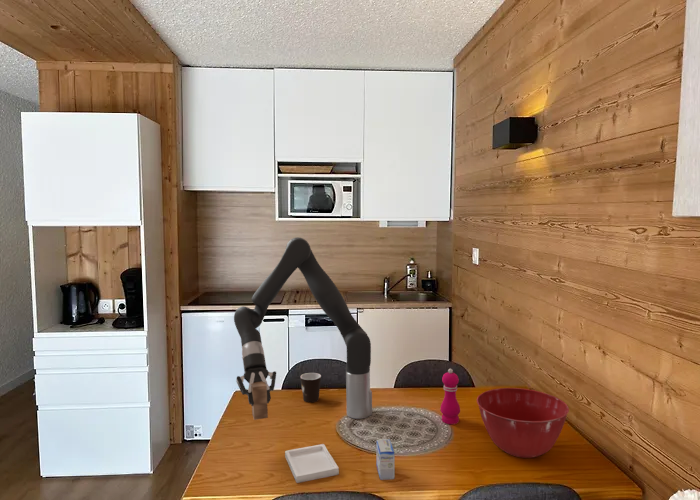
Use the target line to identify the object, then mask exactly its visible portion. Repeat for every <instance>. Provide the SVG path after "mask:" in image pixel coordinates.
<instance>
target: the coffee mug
mask: <svg viewBox="0 0 700 500" xmlns="http://www.w3.org/2000/svg"><path fill="white" fill-rule="evenodd" d="M321 377H322V375H321V374H320V373H316V372H307V373H303V374H301V375H300V384H301V391H302V398H303V401H304V402H305V403H316V402H319V399H320V391H321Z"/></svg>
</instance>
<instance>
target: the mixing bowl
mask: <svg viewBox="0 0 700 500" xmlns="http://www.w3.org/2000/svg"><path fill="white" fill-rule="evenodd" d="M476 404H477V405H478V409H479V412H480V416H481V419H482V422H483V425H484V426H485V429H486V431H487V434H488V435H489V437H490V438H491V441H492V442H493V444H494V445H496V446H497V447H498V448H500V450H502V451H504V453H507V454H508V455H511V456H514V457H517V458H523V459H525V458H526V459H528V458H529V459H531V458H532V459H533V458H537V457H541V455H542V456H543V455H545V454H546V453H547V452H549V451H550V450H552V448H553V447H554V446H555V444H556V441H557V440H558V438H559V436H560V435H561V432H562V430H563V427H564V425H565V422H566V420H567V415H568V414H569V412H570V407H569V406H568V404H567V403H566V402H565V401H564V400H561V399H560V398H558V397H556V396H554V395H552V394H548V393H546V392H542V391H538V390H533V389H528V388H519V387H518V388H517V387H504V388H503V387H502V388H494V389H489V390H486V391H484V392H482V393H480V394H479V395H477V398H476Z"/></svg>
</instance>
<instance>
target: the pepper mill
mask: <svg viewBox="0 0 700 500" xmlns="http://www.w3.org/2000/svg"><path fill="white" fill-rule="evenodd" d="M453 371H454V370H453V369H452V368H449V369H448V370H447V372H445V373H443V375H442V378H441V380H442V381H441V382H442V383H443V391H444V397H443V400H442V402H441V403H440V412H441V421H442V422H443V423H444V424H447V425H456V424H458V423H459V422H460V418H459V417H460V416H459V415H460V414H461V407H460V404H459V401H458V399H457V391H458V384H459V382H460V381H459V380H460V379H459V376H458V375H457V374H456V373H455V372H453Z"/></svg>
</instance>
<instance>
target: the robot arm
mask: <svg viewBox="0 0 700 500" xmlns="http://www.w3.org/2000/svg"><path fill="white" fill-rule="evenodd" d="M297 269H298V270H299V271H300V272H301V274H302V275H303V277H304V279H305V281H306V284H307V286H308V288H309V289H310V292H311V294H312V295H313V298H314V299H315V301H316V302H317V303H318V305H319V307H320V308H321V309H322V311H323V312H324V313H325V314H326V316H327V317H328V318H329V319H330V321H332V322H333V323H334V324H335V326H336V327H337V329H338V332H339V333H340V335H341V337H342V339H343V342H344V343H345V346H346V365H345V382H346V383H345V386H346V387H345V388H346V393H345V394H346V395H345V396H346V397H345V398H346V408H345V409H346V416H348V417H349V418H352V419H357V420H359V419H366V418H369V416H373V391H372V390H371V369H370V368H371V363H372V361H371V360H372V346H371V345H372V343H371V339H370V337H369V336H368V334H367V332H366V331H365V330H364V329H363V327H361V325H360V324H359V323H358V321H357V320H356V319H355V318H354V316H353V314H352V313H351V311H350V309H349V307H348V304H347V303H346V300H345V299H344V297H343V295H342V293H341V292H340V290H339V288H338V287H337V286H336V284H335V283H334V281H333V280H332V278H331V277H330V276H329V275H328V273H327V272H326V271H325V270H324V269H323V268H322V267H321V265H320V264H319V262H318V260H317V258H316V257H315V254H314V252H313V250H312V249H311V246H310V243H309V242H308V240H306V239H305V238H303V237H293V238H291V239H290V240H289V241H288V242H287V244H286V246H285V250H284V252H283V254H282V256H281V258H280V260H279V261H278V264H276V266H275V268H274V269H273V270H272V271H271V273H269V275H267V277H266V278H264V279H263V281H262V282H261V284H260V285H259V287H258V288H257V289H256V291H255V292H254V294H253V295H252V296H251V302H252V304H254V305H255V306H254V308H253V309H252V308H250V307H247V306H245V305H244V306H240V307H238V308H237V309H236V310H235V312H234V315H233V321H234V322H233V323H234V325H235V328H236V330H237V332H238V336H239V337H240V343H241V355H242V357H241V358H242V363H243V370H244V373H243V375H237V376H236V380H235V382H236V384H237V386H238V388H239V390H240V393H241V394H242V395H244V396H245V395H246V396H247V398H248V399H247V401H248V404H249V405H251V407H252V406H253V404H254V401H253V395H252V387H251V384H252V383H254V382H261V381H262V382H265V383H266V385H267V404H269V403H270V402H271V399H272V397H271V392H272V391H274V390H275V386H276V379H277V371H269V370H268V369H267V364H266V357H265V352H264V347H263V345H262V343H263V342H262V337H261V334H260V331H259V330H258V329H257V328H260V326H261V324H262V323H263V320H264V318H265V315H266V314H267V311H268V308H269V306H270V305H271V304H272V303H273V300H275V298H276V297H277V296H278V294H279V292H280V291H281V289H282V288H283V287H284V285H285V283H287V281H288V279H289V278H290V276H292V274H293V273H294V272H295V271H296V270H297ZM268 377H269V379H270V380H271V382H270V385H269V384H268V381H267V378H268ZM244 380H245V381H246V382H247V383H248V388H246V387H245V385H244Z"/></svg>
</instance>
